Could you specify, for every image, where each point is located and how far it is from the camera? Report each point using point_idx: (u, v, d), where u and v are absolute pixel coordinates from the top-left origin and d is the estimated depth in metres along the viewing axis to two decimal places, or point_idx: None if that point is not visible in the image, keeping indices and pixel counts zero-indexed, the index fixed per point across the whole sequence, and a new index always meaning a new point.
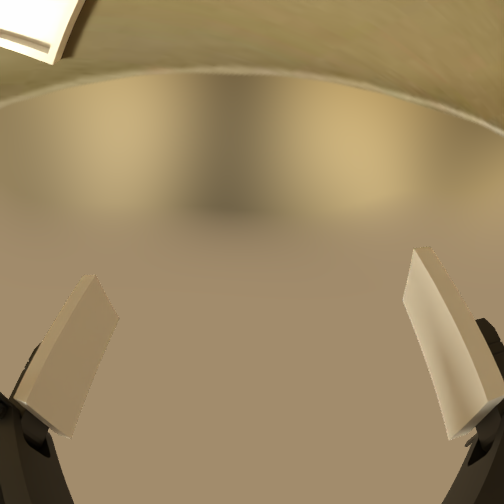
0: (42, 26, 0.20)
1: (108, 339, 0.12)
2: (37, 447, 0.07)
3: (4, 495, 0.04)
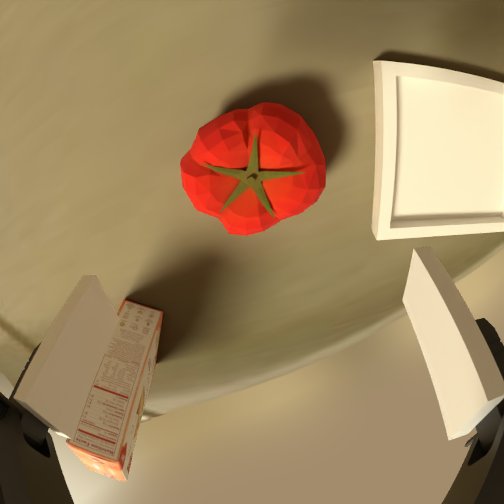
0: (488, 196, 0.24)
1: (108, 339, 0.12)
2: (37, 447, 0.07)
3: (4, 495, 0.04)
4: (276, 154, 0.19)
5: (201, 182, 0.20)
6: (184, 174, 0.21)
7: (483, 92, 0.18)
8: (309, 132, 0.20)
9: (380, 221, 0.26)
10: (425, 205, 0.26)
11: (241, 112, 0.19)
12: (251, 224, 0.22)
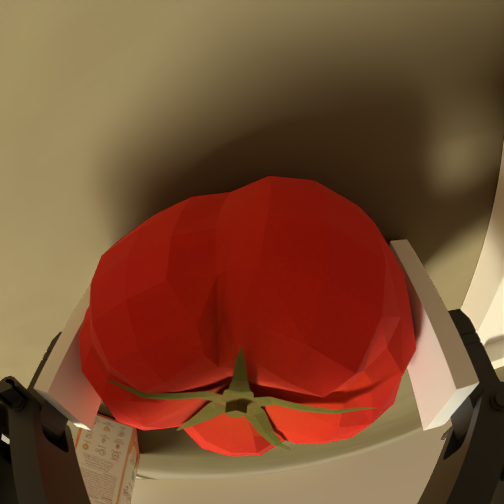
0: None
1: None
2: (55, 440, 0.07)
3: (17, 490, 0.04)
4: (306, 392, 0.06)
5: (119, 409, 0.07)
6: None
7: None
8: (395, 274, 0.07)
9: None
10: None
11: (196, 232, 0.06)
12: (241, 454, 0.09)
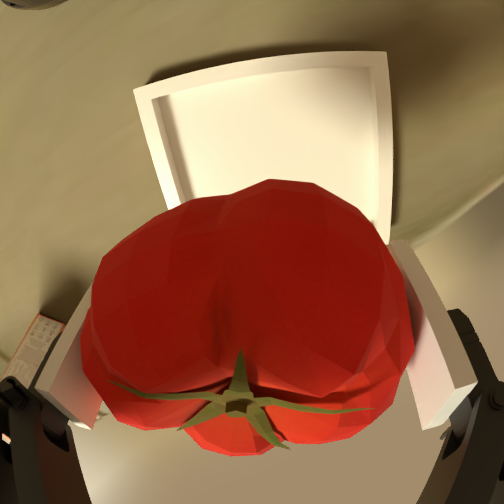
0: None
1: None
2: (55, 440, 0.07)
3: (18, 490, 0.04)
4: (306, 392, 0.06)
5: (120, 409, 0.07)
6: (86, 374, 0.08)
7: (296, 73, 0.19)
8: (394, 276, 0.07)
9: None
10: None
11: (196, 235, 0.06)
12: (241, 454, 0.09)
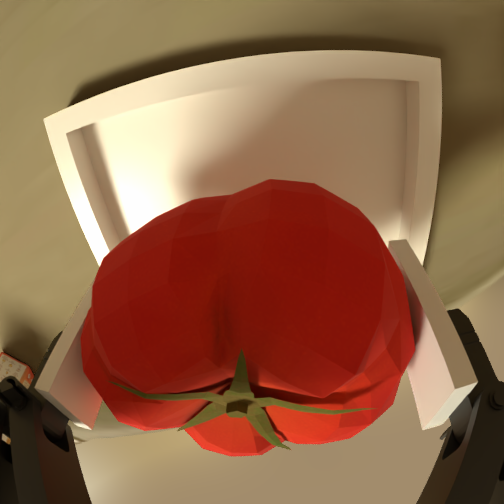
0: None
1: None
2: (55, 440, 0.07)
3: (18, 490, 0.04)
4: (306, 392, 0.06)
5: (120, 410, 0.07)
6: None
7: (290, 85, 0.12)
8: (394, 276, 0.07)
9: None
10: None
11: (197, 235, 0.06)
12: (242, 454, 0.09)
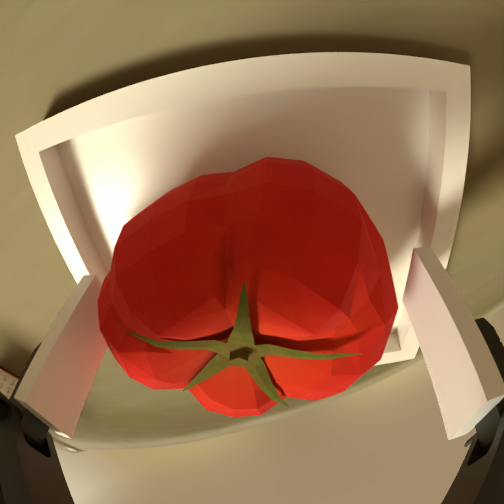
0: None
1: None
2: (37, 447, 0.07)
3: (4, 495, 0.04)
4: (299, 329, 0.07)
5: (133, 362, 0.09)
6: None
7: (295, 94, 0.10)
8: (374, 238, 0.09)
9: None
10: None
11: (207, 198, 0.08)
12: (243, 413, 0.11)
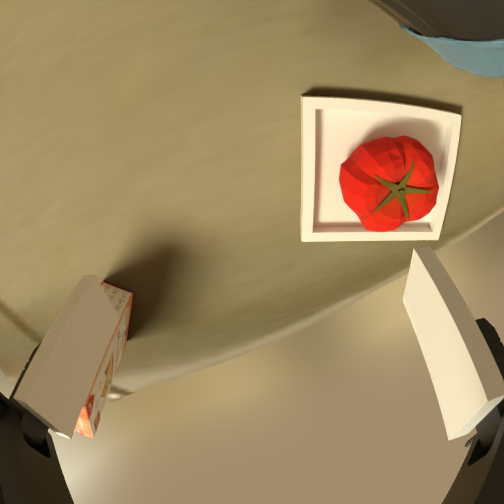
0: None
1: (108, 339, 0.12)
2: (37, 447, 0.07)
3: (4, 495, 0.04)
4: (422, 177, 0.24)
5: (371, 189, 0.26)
6: (355, 180, 0.26)
7: (406, 117, 0.27)
8: None
9: (303, 226, 0.34)
10: (348, 214, 0.34)
11: (397, 141, 0.25)
12: (393, 224, 0.28)
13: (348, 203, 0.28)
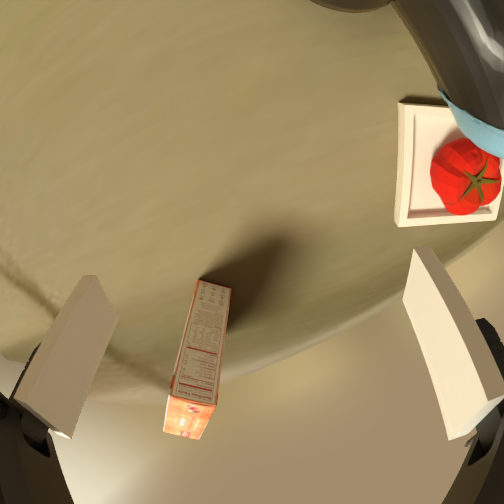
0: None
1: (108, 339, 0.12)
2: (37, 447, 0.07)
3: (4, 495, 0.04)
4: (493, 170, 0.26)
5: (461, 181, 0.28)
6: (449, 174, 0.28)
7: None
8: None
9: (401, 213, 0.36)
10: (431, 202, 0.36)
11: None
12: (473, 208, 0.29)
13: (441, 192, 0.30)
